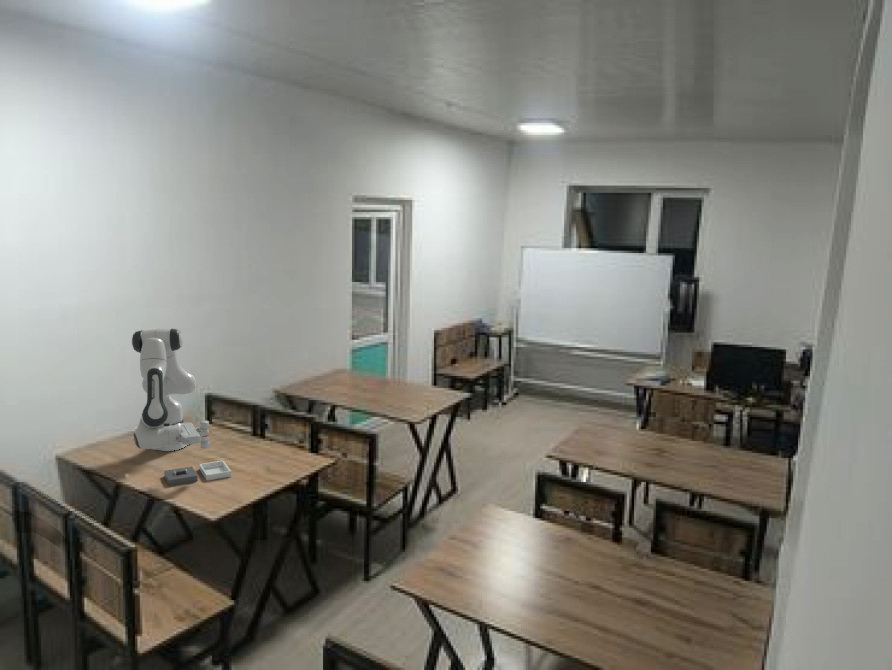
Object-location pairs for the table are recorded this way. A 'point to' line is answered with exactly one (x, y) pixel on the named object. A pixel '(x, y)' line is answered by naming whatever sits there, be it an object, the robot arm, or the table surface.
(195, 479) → the fuse holder
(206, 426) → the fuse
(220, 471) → the tray
